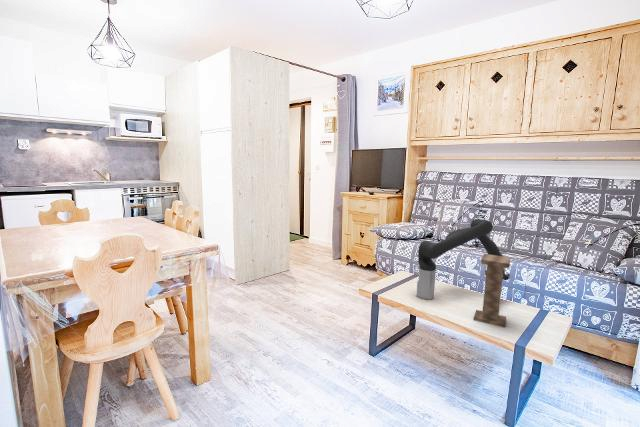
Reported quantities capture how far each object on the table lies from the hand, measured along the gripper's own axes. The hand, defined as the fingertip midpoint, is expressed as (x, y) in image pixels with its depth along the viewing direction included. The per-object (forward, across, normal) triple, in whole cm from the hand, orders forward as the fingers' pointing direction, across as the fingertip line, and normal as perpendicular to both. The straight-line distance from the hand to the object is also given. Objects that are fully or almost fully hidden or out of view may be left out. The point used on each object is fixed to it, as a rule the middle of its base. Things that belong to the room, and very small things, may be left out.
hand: (496, 279), depth 186 cm
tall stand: (+26, 0, +14) cm, 29 cm away
